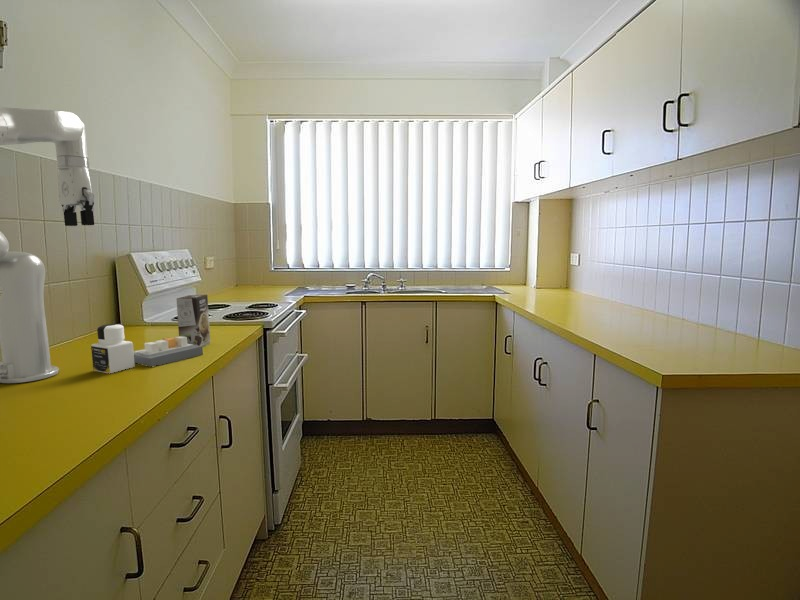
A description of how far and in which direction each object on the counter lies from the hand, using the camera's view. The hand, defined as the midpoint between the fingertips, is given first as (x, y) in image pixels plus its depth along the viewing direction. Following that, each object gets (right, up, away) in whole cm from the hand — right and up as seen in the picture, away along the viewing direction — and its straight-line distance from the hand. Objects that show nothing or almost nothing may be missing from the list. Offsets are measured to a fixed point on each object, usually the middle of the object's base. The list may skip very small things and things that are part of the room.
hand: (79, 225), depth 142 cm
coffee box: (+27, -36, +15) cm, 48 cm away
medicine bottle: (+16, -40, -11) cm, 45 cm away
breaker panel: (+25, -38, 0) cm, 46 cm away
